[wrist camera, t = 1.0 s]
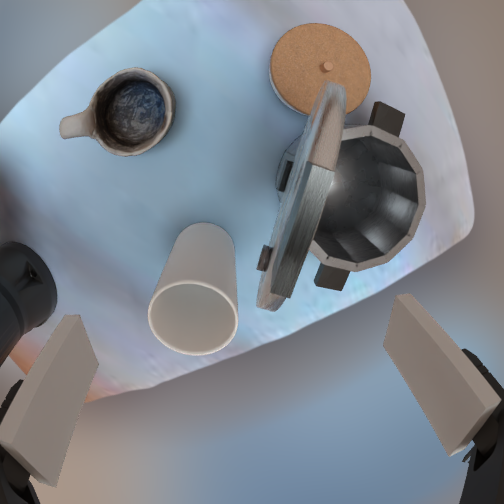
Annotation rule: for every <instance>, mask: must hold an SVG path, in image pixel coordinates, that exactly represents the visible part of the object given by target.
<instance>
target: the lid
mask: <svg viewBox="0 0 504 504" xmlns="http://www.w3.org/2000/svg"><path fill="white" fill-rule="evenodd" d="M346 101H347V98H346V90H345V87H344V86H343V85H341V84H338V83H335V82H332V81H329V80H325V81H324V83H323V84H322V86H321V88H320V90H319V92H318V94H317V97H316V99H315V102H314V104H313V107H312V109H311V112H310V115H309V117H308V120H307V123H306V126H305V129H304V132H303V135H302V137H301V140H300V143H299V146H298V149H297V153H296V156H295V159H294V162H293V165H292V168H291V171H290V175H289V178H288V181H287V184H286V188H285V191H284V194H283V197H282V201H281V204H280V208H279V211H278V214H277V218H276V221H275V225H274V228H273V232H272V236H271V239H270V243H269V246H266V245H264V246H263V249H262V252H261V255H260V258H259V262H258V265H257V270H260V271H262V274H261V279H260V283H259V288H258V294H257V302H256V304H257V307H258V308H262V309H265V310H269V311H272V312H274V311H276V310H278V309H279V308H280V306H281V305H282V304H283V302H284V301H285V299H286V297H287V298H290V297H291V295H292V292H293V289H294V287H295V284H296V281H297V279H298V276H299V274H300V271H301V268H302V266H303V263H304V261H305V258H306V256H307V253H308V251H309V248H310V246H311V243H312V241H313V238H314V235H315V232H316V230H317V227H318V224H319V221H320V218H321V215H322V212H323V209H324V206H325V203H326V200H327V196H328V193H329V189H330V186H331V183H332V180H333V177H334V174H335V172H334V171H335V167H336V163H337V159H338V155H339V150H340V145H341V141H342V135H343V129H344V123H345V115H346Z"/></svg>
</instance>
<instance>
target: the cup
mask: <svg viewBox="0 0 504 504" xmlns="http://www.w3.org/2000/svg"><path fill="white" fill-rule="evenodd" d="M148 322H149V325H150V328H151V330H152V332H153V334H154V335H155V336H156V338H157V339H158V340H159V341H160V342H161V343H163V344H164V345H165V346H167V347H168V348H170V349H172V350H174V351H176V352H179V353H182V354H187V355H207V354H211V353H214V352H216V351H219V350H220V349H222V348H224V347H225V346H226V345H227V344H228V343H229V342H230V341H231V340H232V339H233V337H234V335H235V333H236V331H237V327H238V304H237V285H236V266H235V248H234V244H233V241H232V239H231V237H230V236H229V234H228V233H227V232H226V231H225V230H224V229H222V228H221V227H219V226H217V225H215V224H212V223H204V222H203V223H196V224H192V225H190V226H188V227H186V228H185V229H184V230H183V231H182V232H181V233H180V234H179V235H178V237H177V239H176V241H175V244H174V246H173V248H172V250H171V253H170V255H169V257H168V260H167V262H166V264H165V267H164V269H163V272H162V274H161V276H160V279H159V281H158V284H157V286H156V289H155V291H154V294H153V296H152V299H151V301H150V304H149V308H148Z"/></svg>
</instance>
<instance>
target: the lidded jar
mask: <svg viewBox="0 0 504 504" xmlns="http://www.w3.org/2000/svg"><path fill="white" fill-rule="evenodd" d="M269 77H270V82H271V85H272V87H273V90H274V91H275V93H276V95H277V96H278V97H279V99H280V100H281V101H282V102H283V103H284V104H285V105H286V106H288V107H289V108H291V109H292V110H294V111H296V112H298V113H300V114H303V115H306V116H309V115H310V112H311V109H312V107H313V104H314V102H315V99H316V97H317V94H318V92H319V90H320V88H321V86H322V84H323V83H324V81H325V80H329V81H332V82H335V83H338V84H341V85H343V86H344V87H345V90H346V98H347V101H346V114H348V113H350V112H352V111H353V110H355V109H356V108H357V107H358V106H359V105H360V104H361V103H362V102H363V100H364V99H365V97H366V95H367V93H368V91H369V87H370V82H371V71H370V66H369V62H368V59H367V57H366V55H365V53H364V51H363V49H362V48H361V47H360V45H359V44H358V43H357V42H356V41H355V40H354V39H353V38H352V37H351V36H350V35H348V34H347V33H345V32H344V31H342V30H340V29H338V28H336V27H333V26H330V25H326V24H319V23H309V24H304V25H300V26H297V27H295V28H293V29H291V30H289V31H288V32H287V33H285V34H284V35H283V36H282V37H281V38H280V40H279V41H278V42H277V44H276V46H275V47H274V49H273V52H272V55H271V59H270V64H269Z"/></svg>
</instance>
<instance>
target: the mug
mask: <svg viewBox="0 0 504 504" xmlns="http://www.w3.org/2000/svg"><path fill="white" fill-rule="evenodd" d="M175 108H176V101H175V96H174V94H173V92H172V90H171V88H170V87H169V86H168V85H167V84H166V83H165V82H164V81H162V80H160V78H159V77H157V76H156V75H155V74H154V73H152V72H150V71H146V70H144V69H142V68H136V67H135V68H129V69H124V70H122V71H119V72H117V73H116V74H115V75H113V76H111V77H110V78H108V79H107V80H106V81H105V82H104V83H103V84H101V85H100V86H99V87H98V89H97V90H96V92H95V93H94V95H93V97H92V99H91V101H90V104H89V106H88V108H87V109H86V110H84V111H83V112H81V113H78V114H75V115H72V116H67V117H65V118H63V119H62V120H61V122H60V129H59V130H60V135H61V137H62V138H63V139H67V138H74V137H82V136H89V137H91V138H93V139H96V140H97V141H98V142H99V144H100V145H101V146H102V147H103V148H104V149H105V150H107V151H108V152H110V153H112V154H114V155H119V156H125V157H126V156H136V155H140V154H142V153H144V152H145V151H147V150H149V149H150V148H152V147H153V146H155V145H156V144H157V143H159V142H160V141H161V140H162V139H163V138H164V137H165V136H166V134H167V133H168V131H169V129H170V128H171V126H172V123H173V120H174V117H175Z"/></svg>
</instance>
